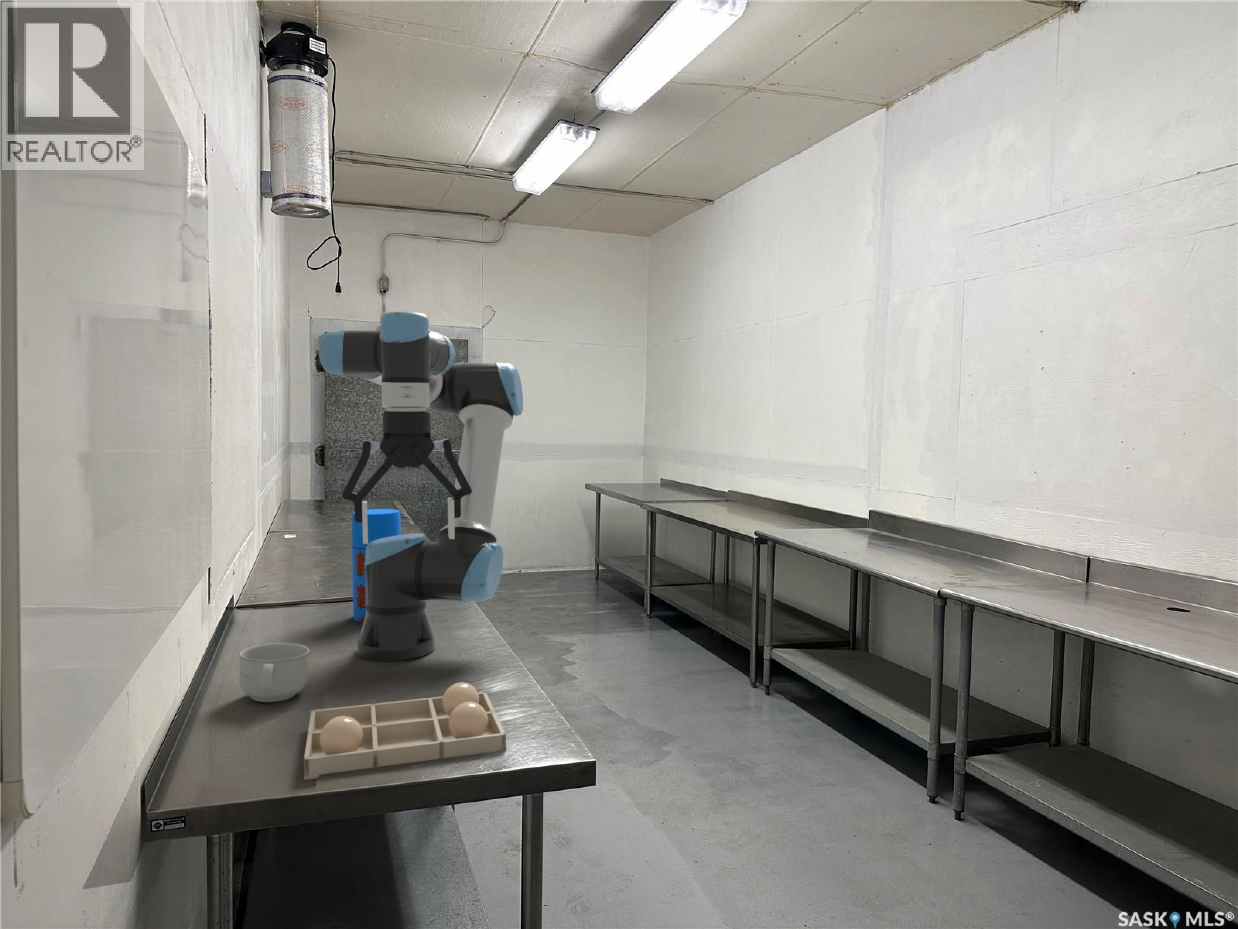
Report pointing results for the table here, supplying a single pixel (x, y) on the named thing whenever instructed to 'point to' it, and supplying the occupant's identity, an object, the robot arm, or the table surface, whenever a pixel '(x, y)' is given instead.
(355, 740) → the egg
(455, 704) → the egg back left
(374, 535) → the thermos
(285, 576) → the table surface
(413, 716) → the carton
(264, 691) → the teacup
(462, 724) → the egg front left
